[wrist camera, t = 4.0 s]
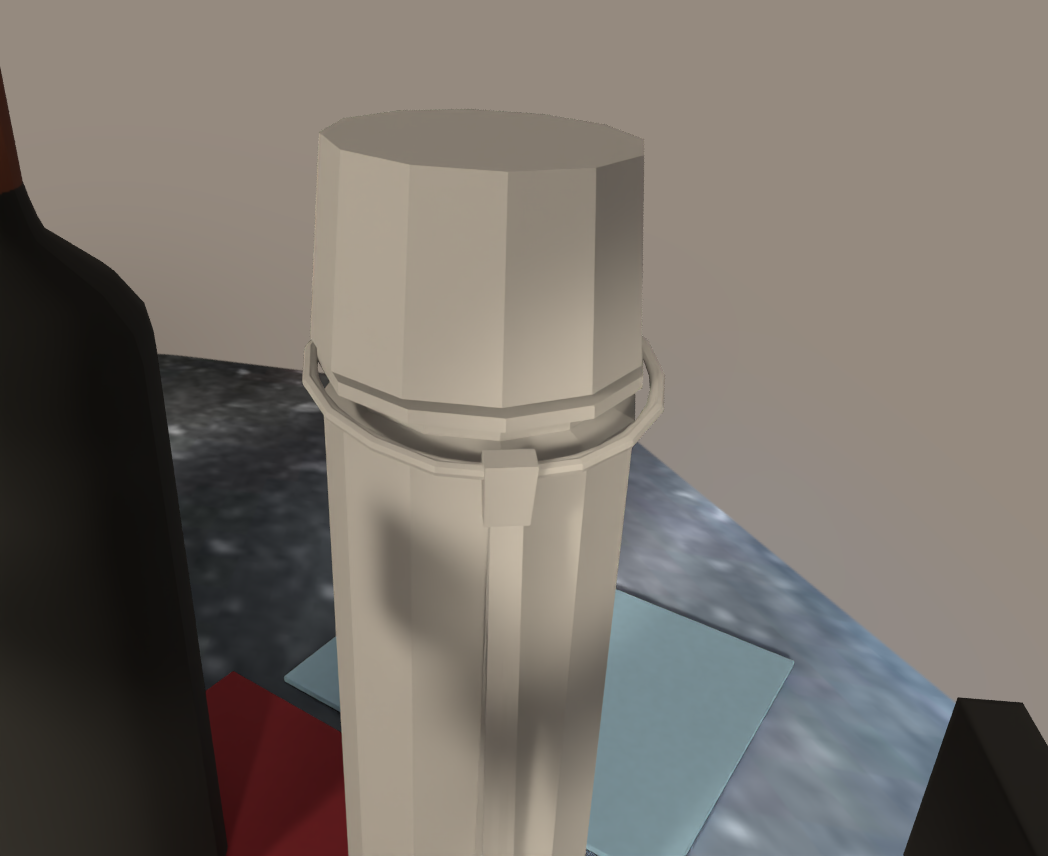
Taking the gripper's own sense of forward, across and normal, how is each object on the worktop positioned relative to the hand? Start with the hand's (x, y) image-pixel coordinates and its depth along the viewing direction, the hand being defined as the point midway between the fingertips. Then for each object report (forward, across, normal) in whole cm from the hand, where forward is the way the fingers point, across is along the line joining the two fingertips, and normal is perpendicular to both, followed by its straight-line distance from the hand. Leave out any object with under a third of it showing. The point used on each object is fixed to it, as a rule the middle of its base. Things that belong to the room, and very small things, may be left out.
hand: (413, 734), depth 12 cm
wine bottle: (+12, -12, -20) cm, 26 cm away
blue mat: (+24, +2, -20) cm, 31 cm away
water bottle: (+10, 0, -20) cm, 22 cm away
